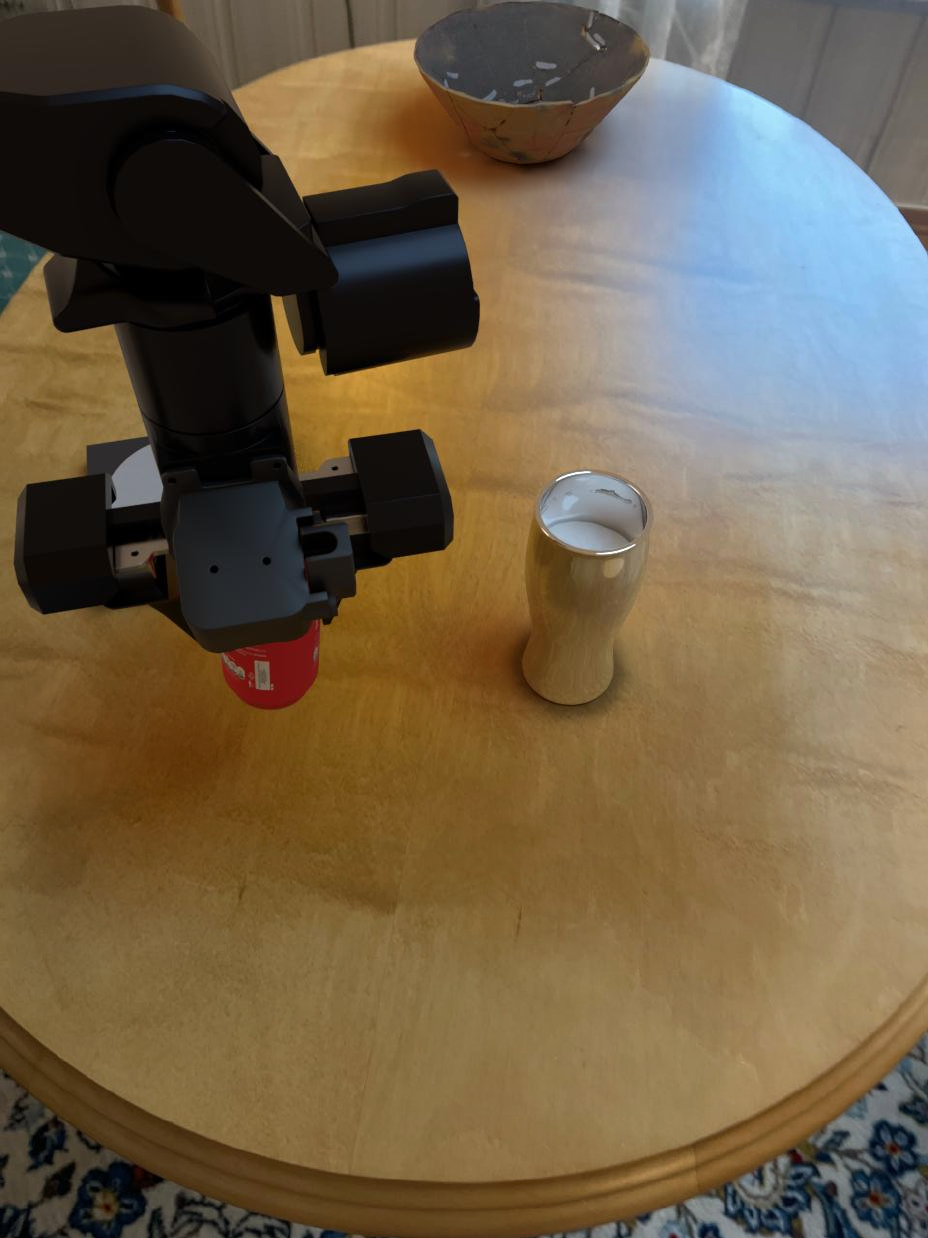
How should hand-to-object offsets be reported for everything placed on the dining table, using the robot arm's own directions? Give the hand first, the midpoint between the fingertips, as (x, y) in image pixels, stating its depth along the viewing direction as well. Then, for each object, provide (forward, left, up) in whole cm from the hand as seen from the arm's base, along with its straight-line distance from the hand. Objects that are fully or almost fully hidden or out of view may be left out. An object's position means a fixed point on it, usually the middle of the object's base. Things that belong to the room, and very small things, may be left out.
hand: (265, 628), depth 50 cm
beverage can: (0, 0, -5) cm, 5 cm away
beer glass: (+19, +2, -13) cm, 23 cm away
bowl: (+37, +72, -13) cm, 82 cm away
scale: (-4, +22, -13) cm, 26 cm away
